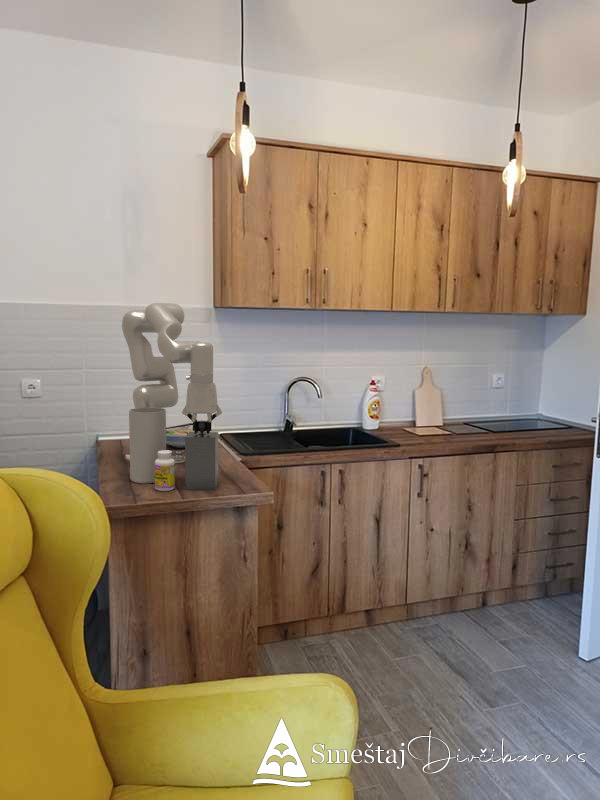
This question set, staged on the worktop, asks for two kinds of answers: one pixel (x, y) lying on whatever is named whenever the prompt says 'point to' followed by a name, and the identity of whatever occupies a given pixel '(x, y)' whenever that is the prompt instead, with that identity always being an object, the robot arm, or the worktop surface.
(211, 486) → the tall grey rectangular prism
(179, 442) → the ramen bowl
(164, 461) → the supplement bottle
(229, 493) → the worktop surface
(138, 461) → the cylinder vase
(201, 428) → the plunger
